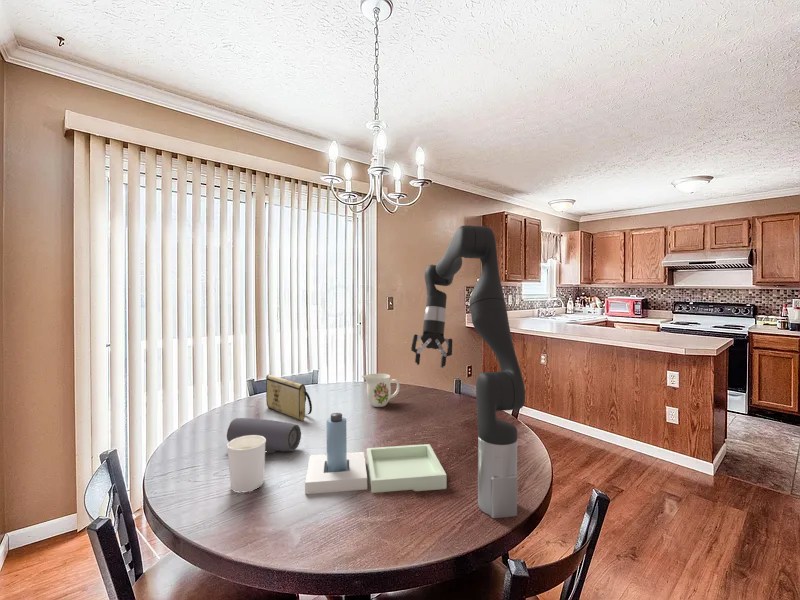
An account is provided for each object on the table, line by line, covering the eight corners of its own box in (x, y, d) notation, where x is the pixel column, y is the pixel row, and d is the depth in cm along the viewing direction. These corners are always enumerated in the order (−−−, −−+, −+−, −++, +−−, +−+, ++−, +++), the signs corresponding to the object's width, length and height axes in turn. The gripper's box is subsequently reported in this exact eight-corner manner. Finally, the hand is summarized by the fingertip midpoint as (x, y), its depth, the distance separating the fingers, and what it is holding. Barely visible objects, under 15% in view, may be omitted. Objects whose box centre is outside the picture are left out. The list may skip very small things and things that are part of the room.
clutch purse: (316, 418, 157) (316, 382, 156) (302, 423, 152) (301, 385, 151) (277, 403, 177) (277, 371, 176) (263, 407, 171) (263, 374, 171)
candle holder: (254, 473, 111) (254, 432, 111) (273, 484, 105) (273, 440, 105) (221, 486, 104) (220, 443, 103) (239, 499, 97) (238, 453, 97)
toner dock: (367, 491, 101) (367, 477, 101) (305, 496, 99) (304, 482, 99) (363, 463, 117) (363, 451, 117) (310, 467, 115) (310, 455, 114)
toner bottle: (346, 480, 106) (346, 417, 105) (326, 482, 105) (326, 418, 104) (346, 470, 111) (346, 410, 110) (327, 472, 110) (326, 411, 110)
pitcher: (403, 405, 173) (403, 375, 173) (365, 410, 167) (365, 379, 166) (395, 399, 183) (395, 370, 183) (358, 403, 177) (358, 373, 176)
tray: (446, 488, 102) (446, 474, 102) (371, 495, 99) (371, 480, 99) (429, 455, 122) (429, 444, 122) (366, 460, 119) (366, 448, 119)
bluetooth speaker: (302, 448, 128) (302, 418, 128) (287, 460, 120) (286, 428, 119) (244, 440, 135) (243, 412, 134) (225, 451, 126) (225, 421, 125)
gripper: (416, 316, 133) (411, 364, 130) (456, 321, 133) (452, 368, 131) (413, 318, 140) (408, 363, 138) (451, 323, 141) (447, 368, 138)
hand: (430, 366), depth 134 cm, fingers open, 8 cm apart
